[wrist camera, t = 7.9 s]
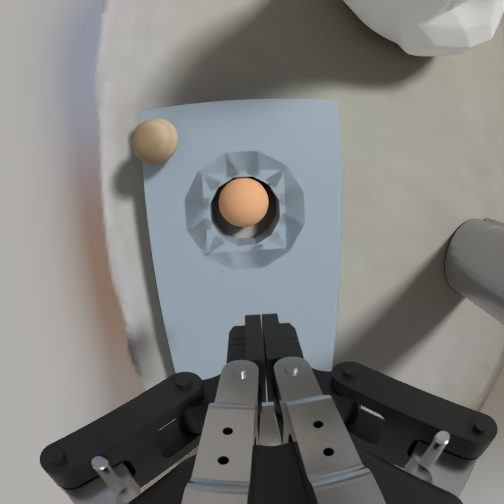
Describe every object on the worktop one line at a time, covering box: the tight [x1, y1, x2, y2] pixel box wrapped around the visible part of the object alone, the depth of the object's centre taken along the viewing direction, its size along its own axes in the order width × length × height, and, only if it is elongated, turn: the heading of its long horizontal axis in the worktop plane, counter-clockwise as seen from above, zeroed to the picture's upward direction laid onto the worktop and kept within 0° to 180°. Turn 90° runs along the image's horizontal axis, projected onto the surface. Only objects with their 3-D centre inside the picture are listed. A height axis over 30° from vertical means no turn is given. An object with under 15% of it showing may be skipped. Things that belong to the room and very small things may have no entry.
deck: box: [140, 99, 342, 406], centre depth 26 cm, size 30×16×2 cm, turn 3°
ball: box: [219, 177, 269, 227], centre depth 23 cm, size 4×4×4 cm
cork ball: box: [132, 118, 178, 164], centre depth 20 cm, size 4×4×4 cm
